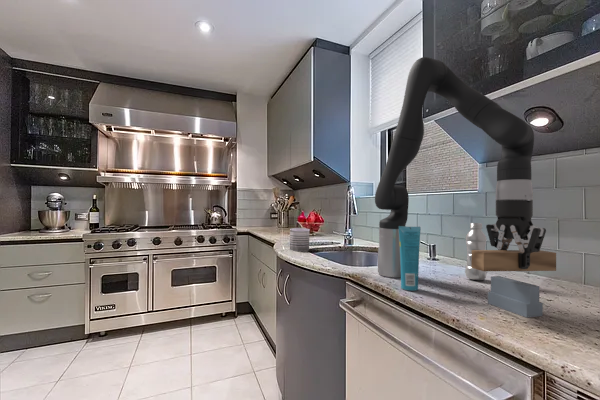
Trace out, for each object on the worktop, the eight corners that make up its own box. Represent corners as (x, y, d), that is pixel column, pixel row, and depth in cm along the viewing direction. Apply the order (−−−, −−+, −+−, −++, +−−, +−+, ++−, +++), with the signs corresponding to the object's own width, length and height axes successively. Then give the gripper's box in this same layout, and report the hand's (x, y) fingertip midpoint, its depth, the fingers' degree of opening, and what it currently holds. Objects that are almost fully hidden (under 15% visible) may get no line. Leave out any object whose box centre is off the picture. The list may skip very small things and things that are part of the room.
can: (310, 248, 168) (310, 228, 168) (308, 251, 156) (308, 229, 157) (291, 248, 169) (291, 227, 169) (287, 250, 158) (288, 229, 158)
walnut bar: (471, 267, 72) (471, 250, 73) (540, 267, 75) (540, 250, 75) (483, 271, 69) (483, 252, 69) (556, 270, 71) (556, 252, 71)
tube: (413, 286, 91) (414, 225, 92) (424, 290, 87) (425, 226, 87) (394, 287, 89) (394, 225, 89) (404, 292, 84) (404, 226, 85)
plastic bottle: (488, 280, 101) (489, 223, 101) (483, 283, 96) (483, 224, 97) (468, 276, 106) (469, 222, 106) (462, 279, 101) (462, 222, 101)
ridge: (487, 303, 76) (487, 276, 76) (502, 301, 77) (502, 275, 77) (526, 317, 66) (526, 287, 66) (542, 315, 68) (542, 285, 68)
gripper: (477, 198, 78) (477, 261, 78) (532, 197, 64) (532, 273, 64) (498, 199, 80) (498, 261, 80) (556, 198, 66) (556, 272, 66)
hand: (513, 266), depth 72 cm, fingers closed on walnut bar, 4 cm apart
